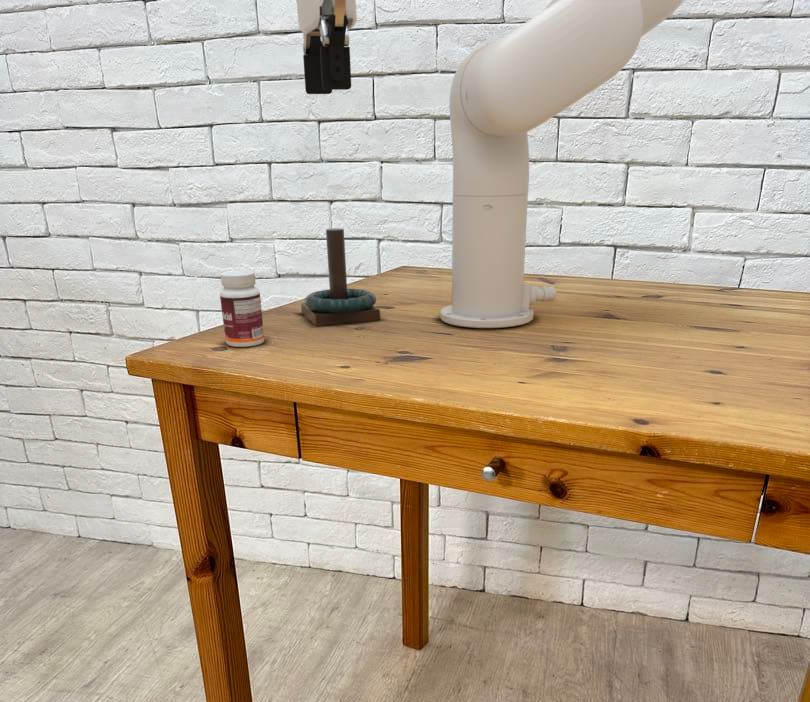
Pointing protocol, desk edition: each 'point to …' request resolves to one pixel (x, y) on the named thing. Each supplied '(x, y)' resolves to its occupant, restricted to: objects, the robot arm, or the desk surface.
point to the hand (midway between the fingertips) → (327, 91)
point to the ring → (340, 301)
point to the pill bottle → (241, 309)
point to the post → (338, 286)
